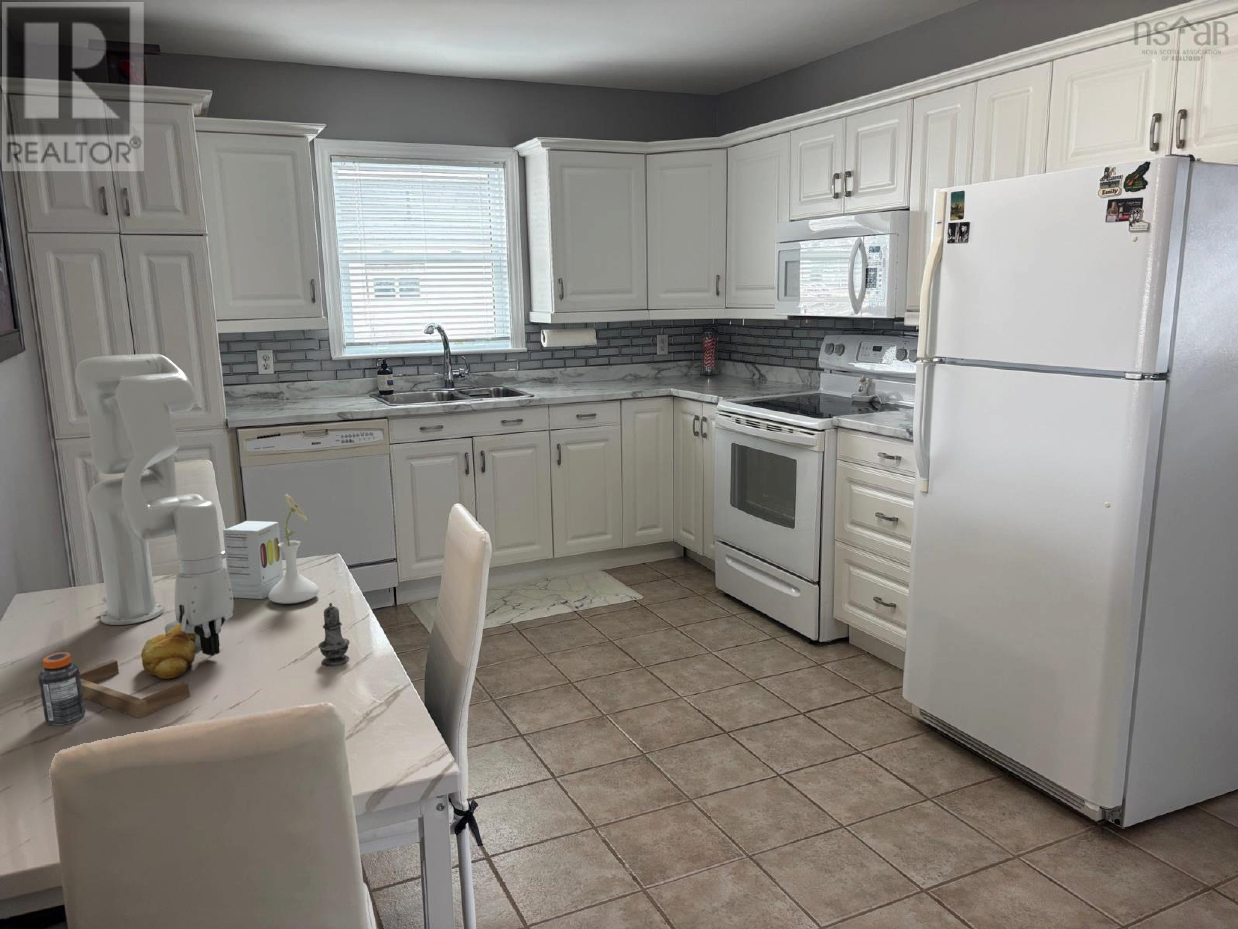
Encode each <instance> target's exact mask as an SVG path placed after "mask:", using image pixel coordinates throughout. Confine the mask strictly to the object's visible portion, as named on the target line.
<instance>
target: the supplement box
mask: <svg viewBox="0 0 1238 929" xmlns="http://www.w3.org/2000/svg"><path fill="white" fill-rule="evenodd" d="M222 534H223V546H224V552H225V554H226V558H225V564H226V566H225V567H226V571H227V574H228V577H229V580H230V584H231V589H232V595H233V598H239V599H254V600H264V599H266V598H268V595H269V592H270V590H271V589H272V588H273V587H274V586H275V585H276V584H277V583H278V582H279V581H281V580H282V579H283V578H284V569H283V558H282V549H281V548H280V547H279V546H278V544H279V543H281V537H280V536H281V535H280V525H279V521H264V520H263V521H262V520H259V521H258V520H244V521H243V522H241V523H238V524H235V525H234V526H230V527H228V528H225V529H223V530H222Z"/></svg>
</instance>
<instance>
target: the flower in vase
mask: <svg viewBox="0 0 1238 929" xmlns="http://www.w3.org/2000/svg"><path fill="white" fill-rule="evenodd" d="M284 499H285V500H286V502H287V504H288V505H289V507H290V511H289V513H288V515H287V518H286V521H285V524H283V525H284V529H285V536H284V538H285V539H287V540H286V541H282V542H280V543H279V544H278V546H279V547H280V548H281V552H282V553H283V555H284V559H285V566H286V567H285V568H286V572H285V575H283V579H282V580H281V581H279V582H278V583H277V584H276V585H275V586H274V587H273V588H272V589H271V590H270V592H269V595H268V597H267V598H268V599H269V600H270V601H271V602H273V603H277V604H283V605H284V604H285V605H286V604H297V603H302V602H306V601H308V600H311V599H313V598H314V597H316V596H318V593H319V592H320V589H319V586H318V585H317V584H316V583H314V582H313V581H311V580H309V579H308V578H307V577H304V576H303V575H301V574H300V573H299V571H298V567H297V552H298V549H299V546H300V545H301V541H300V540H289V538H290V537H291V536H292V535H294V534H295V531H293V530H289V529H288V522H289V519H290V517H291V515H292V513H295V514H296V515H297V516H298V517H299V518H300V519H301V520H302V521H303V522H307V520H308V517H307V516H306V514H305V512H303V511H302V510H301V509H300V507H299V506H300V505H299V504H298V503H297V502H295V501H294V499H293V498H292V496H291V495H289V494H288V493H286V494H284Z"/></svg>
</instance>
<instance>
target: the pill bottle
mask: <svg viewBox="0 0 1238 929" xmlns="http://www.w3.org/2000/svg"><path fill="white" fill-rule="evenodd" d="M42 666H43V669H42V670H41V671H40V672H39V674H38V685H39V689H40V691H39V692H40V697H41V703H42V709H43V716H44V719H45V720H44V721H45V723H46V724H48V725H50V726H62V725H66V724H71V723H74V722H76V721H79V720H80V719H81V718H83V717H84V716H85V715H86V705H85V700H84V699H85V698H84V697H83V691H82V685H81V678H80V668H79V666H78V664H76V663H72V657H71V654H70V652H64V651H63V652H56V653H52V654H50V655H49V654H48V655H47V656H45V657H44V658H43V659H42Z"/></svg>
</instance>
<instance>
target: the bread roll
mask: <svg viewBox="0 0 1238 929" xmlns="http://www.w3.org/2000/svg"><path fill="white" fill-rule="evenodd" d="M181 626H182V623H179V624H177V625H175V626H174V627H173V628H171V629H170V630H169V631H168V632H167V633H166V634H163V633H162V634H158V635H156V636H154V637H152V638H150V639H148V640H146V642H145V644H144V645H143V647H142V650H141V657H140V658H141V663H142V667H143V669H144V670H145V672H146V673H147V674H148V675H152V676H157V677H158V678H159V679H165V680H166V679H174V678H177V677H179V676H181V675H182V674H184V673H185V672H186V670H187V669H188V668H189V666H190V665H192V664H193V663H194V661H195V658H196V654H195V651H196V650H195V639H196V633H183V632H181Z"/></svg>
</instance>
